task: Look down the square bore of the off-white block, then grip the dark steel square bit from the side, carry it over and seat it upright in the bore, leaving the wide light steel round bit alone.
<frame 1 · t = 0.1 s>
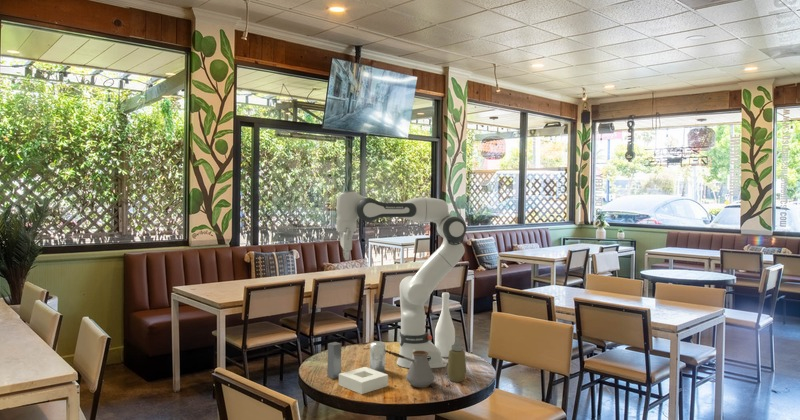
hand: (346, 258, 248), 48 cm above the table, tool pointing down, fingers open, 8 cm apart
socket block: (363, 385, 225), on the table
coffee pot: (408, 385, 226), on the table
square bit: (334, 376, 235), on the table
squeeze bottle: (456, 380, 233), on the table
round bit: (377, 370, 244), on the table
wine bottle: (444, 355, 270), on the table
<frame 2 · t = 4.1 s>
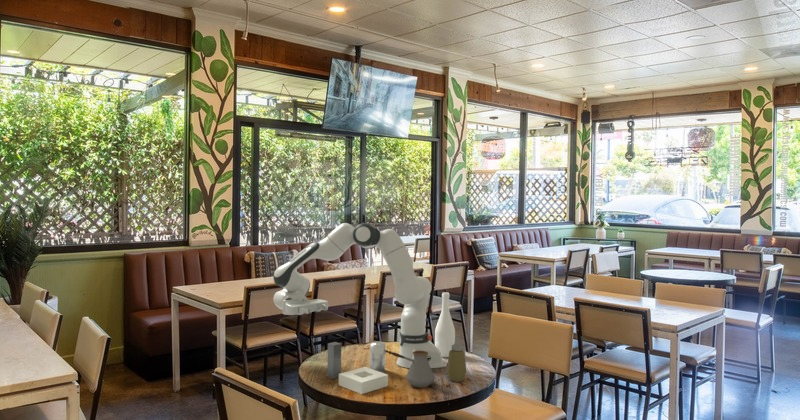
hand: (317, 310, 242), 26 cm above the table, tool horizontal, fingers open, 8 cm apart
nothing on the table moved.
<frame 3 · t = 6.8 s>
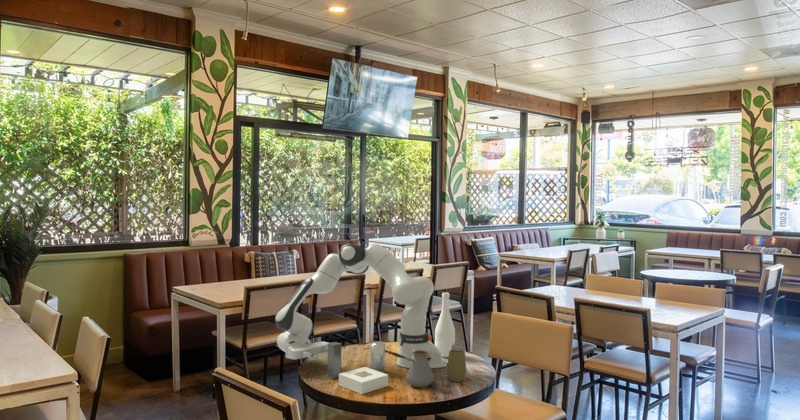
hand: (320, 353, 241), 8 cm above the table, tool horizontal, fingers open, 8 cm apart
nothing on the table moved.
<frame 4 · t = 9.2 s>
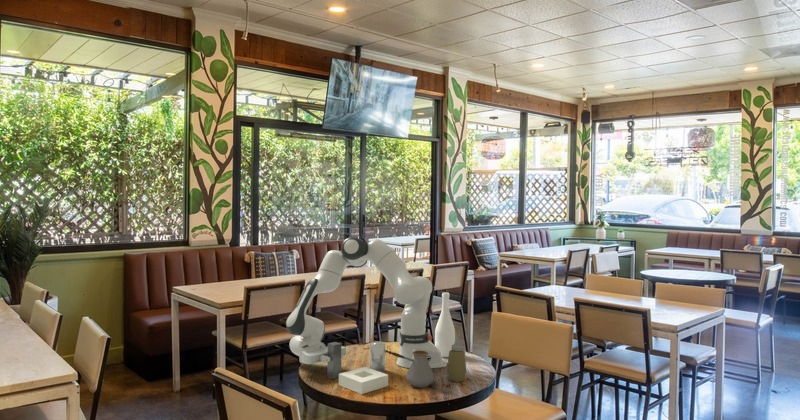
hand: (335, 358, 234), 8 cm above the table, tool horizontal, fingers closed on square bit, 4 cm apart
square bit: (334, 376, 235), on the table, touching gripper
everything else where it was.
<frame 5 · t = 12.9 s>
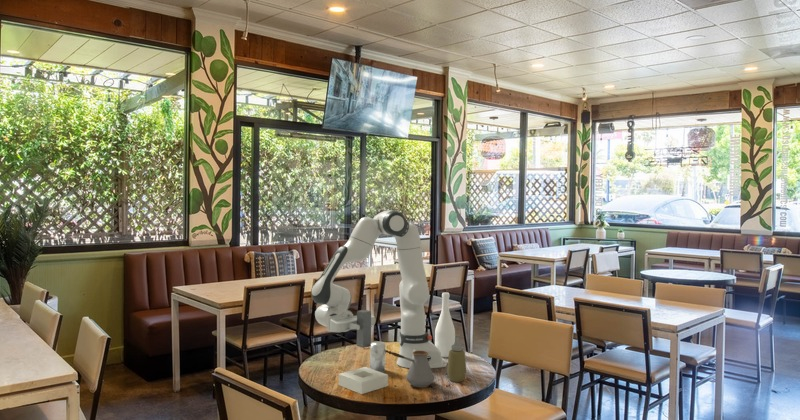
hand: (365, 326, 224), 24 cm above the table, tool horizontal, fingers closed on square bit, 4 cm apart
square bit: (363, 346, 225), point 16 cm above the table, touching gripper
everything else where it was.
when the fingers open (9 cm above the table, at t = 16.8 s): square bit drops 1 cm, resting in socket block.
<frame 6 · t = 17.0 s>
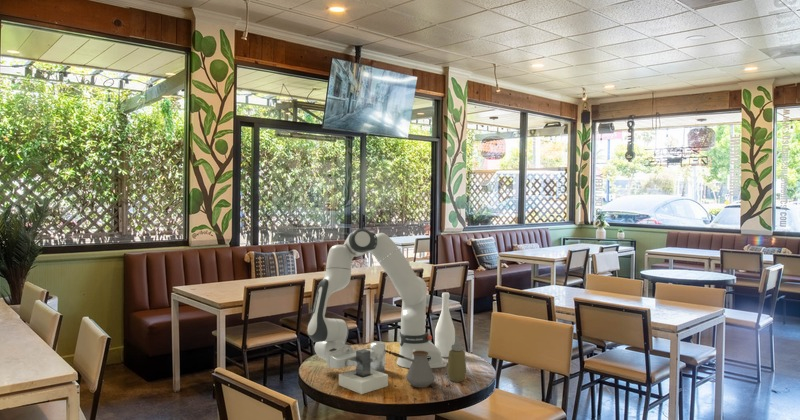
hand: (365, 362, 224), 9 cm above the table, tool horizontal, fingers open, 6 cm apart
square bit: (363, 385, 225), resting in socket block
everything else where it was.
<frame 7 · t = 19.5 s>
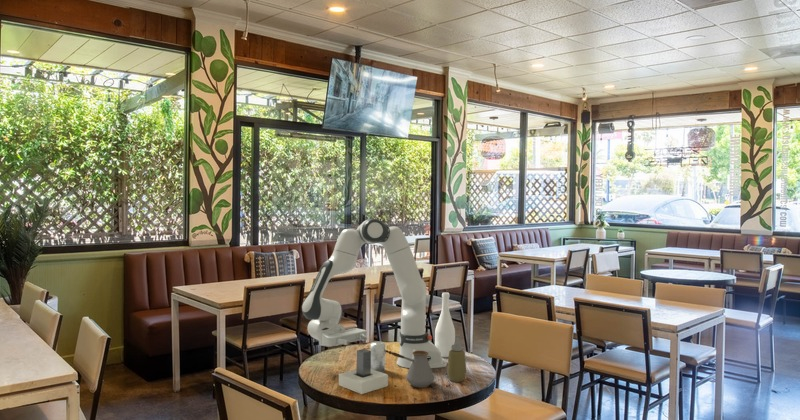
hand: (356, 340, 228), 17 cm above the table, tool horizontal, fingers open, 8 cm apart
nothing on the table moved.
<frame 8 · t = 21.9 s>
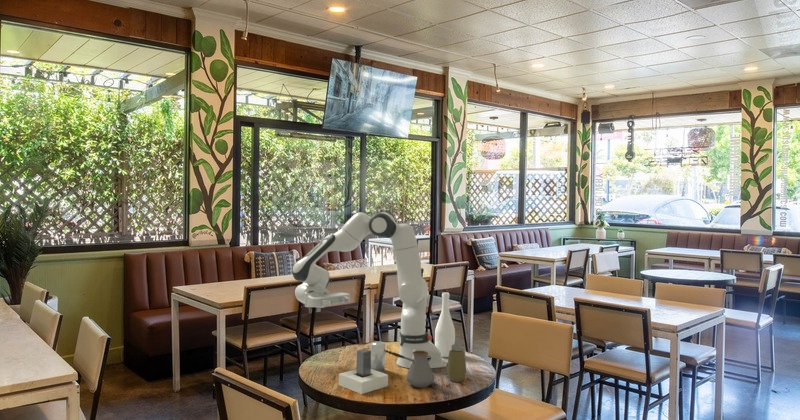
hand: (339, 302, 242), 30 cm above the table, tool horizontal, fingers open, 8 cm apart
nothing on the table moved.
at the end: square bit 0.1 cm off-centre on the socket block, point 0.0 cm above the socket block's base; square bit tilted 0°; round bit moved 0.0 cm from its start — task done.
